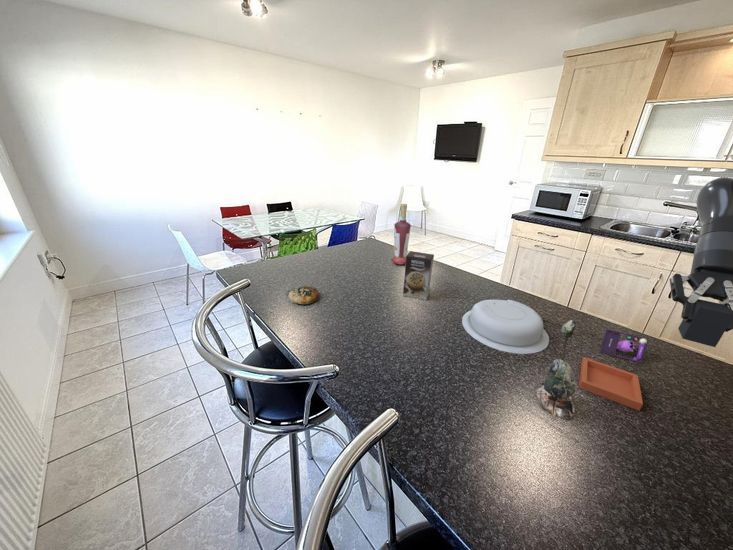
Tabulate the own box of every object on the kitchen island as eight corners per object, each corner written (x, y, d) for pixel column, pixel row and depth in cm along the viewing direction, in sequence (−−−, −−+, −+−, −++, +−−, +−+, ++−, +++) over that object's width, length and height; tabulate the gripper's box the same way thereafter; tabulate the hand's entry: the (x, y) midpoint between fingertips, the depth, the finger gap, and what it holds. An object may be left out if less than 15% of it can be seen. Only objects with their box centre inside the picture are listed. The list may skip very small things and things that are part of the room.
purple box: (607, 329, 80) (650, 339, 76) (602, 326, 85) (642, 335, 81) (600, 352, 81) (642, 363, 77) (596, 348, 86) (635, 358, 82)
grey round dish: (492, 359, 78) (497, 340, 76) (447, 311, 100) (450, 295, 98) (569, 347, 83) (576, 329, 81) (511, 304, 106) (515, 289, 103)
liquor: (408, 266, 137) (413, 206, 125) (392, 266, 137) (396, 205, 125) (406, 260, 144) (411, 202, 132) (391, 260, 143) (394, 202, 132)
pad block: (708, 336, 65) (727, 305, 62) (715, 347, 62) (735, 314, 58) (677, 328, 68) (694, 298, 65) (682, 338, 64) (699, 307, 61)
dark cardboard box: (402, 296, 110) (405, 255, 103) (406, 289, 115) (409, 250, 109) (426, 300, 107) (431, 259, 100) (429, 293, 112) (434, 253, 106)
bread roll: (321, 290, 112) (320, 279, 109) (316, 309, 102) (315, 297, 100) (293, 291, 112) (291, 279, 109) (285, 309, 103) (282, 297, 100)
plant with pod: (523, 406, 64) (547, 330, 56) (542, 381, 71) (567, 310, 63) (564, 431, 59) (599, 351, 50) (581, 402, 66) (614, 326, 57)
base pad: (634, 381, 72) (637, 374, 71) (639, 411, 64) (643, 404, 63) (580, 362, 78) (583, 356, 77) (579, 387, 69) (581, 381, 69)
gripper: (682, 242, 67) (668, 309, 63) (780, 255, 59) (772, 333, 55) (668, 257, 73) (654, 319, 69) (755, 271, 65) (746, 342, 61)
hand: (707, 325), depth 62 cm, fingers closed on pad block, 5 cm apart
